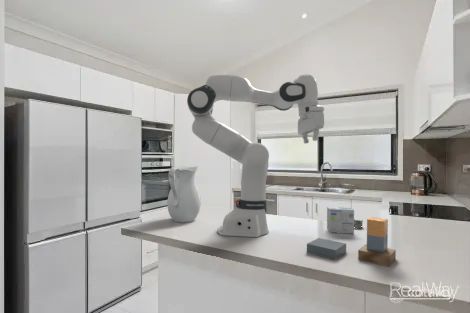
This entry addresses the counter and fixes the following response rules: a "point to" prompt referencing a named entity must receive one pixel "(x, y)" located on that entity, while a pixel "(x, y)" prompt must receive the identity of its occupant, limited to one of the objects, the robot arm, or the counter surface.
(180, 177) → the pitcher
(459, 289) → the counter surface
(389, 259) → the stand
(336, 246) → the stand
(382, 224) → the orange and blue block
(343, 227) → the light bulb box
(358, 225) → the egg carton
